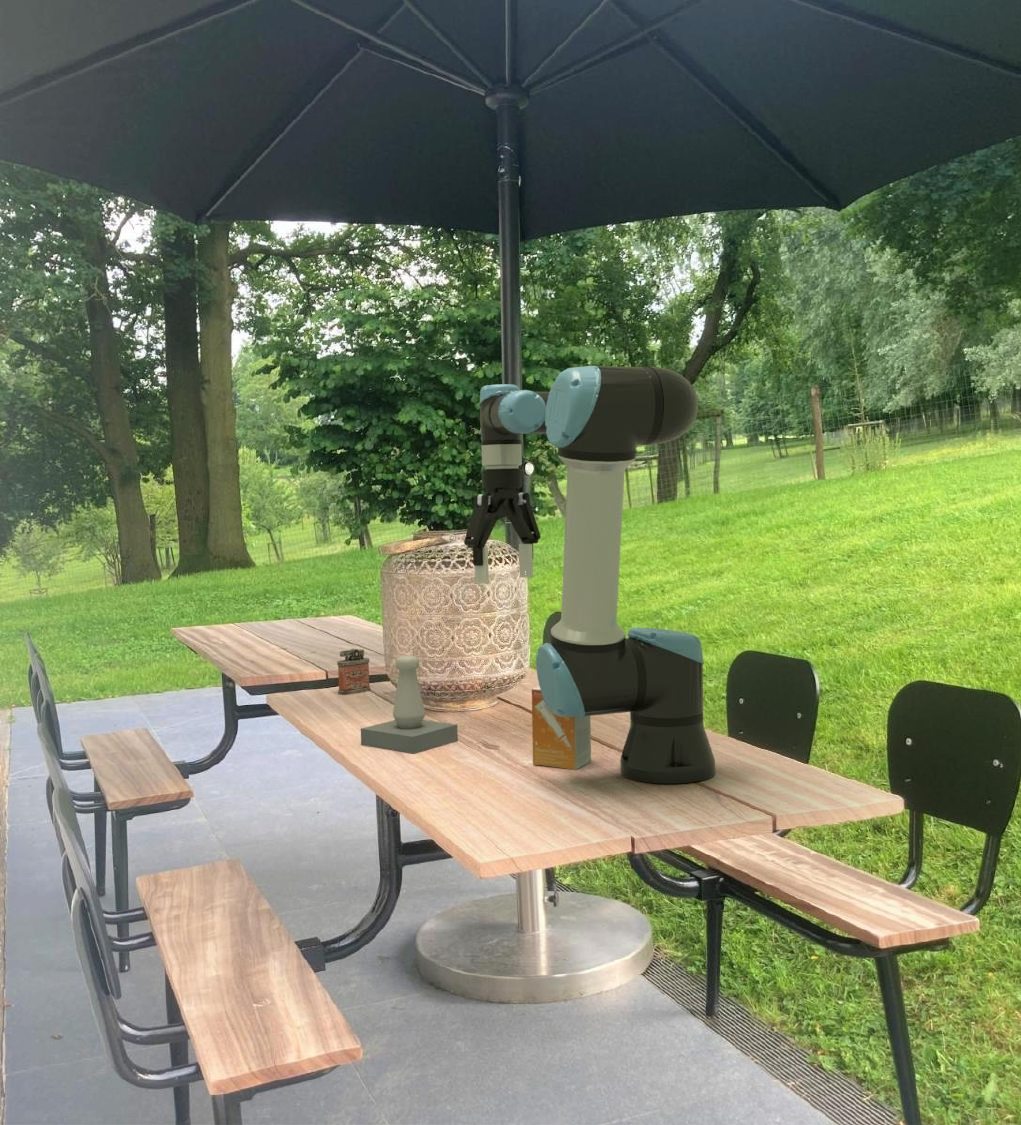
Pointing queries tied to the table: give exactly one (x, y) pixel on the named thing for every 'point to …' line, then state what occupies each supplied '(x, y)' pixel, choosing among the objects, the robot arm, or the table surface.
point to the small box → (558, 736)
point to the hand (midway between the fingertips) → (504, 580)
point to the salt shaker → (408, 694)
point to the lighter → (353, 672)
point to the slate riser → (409, 736)
